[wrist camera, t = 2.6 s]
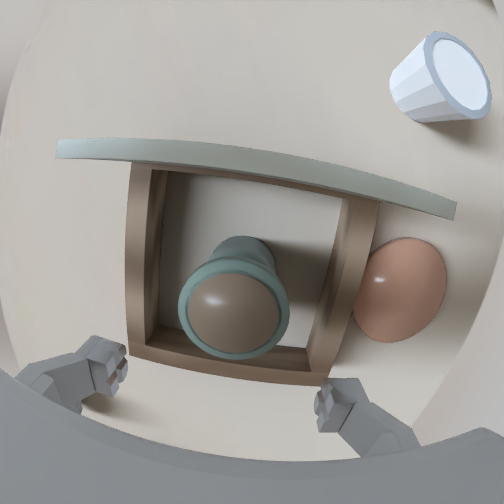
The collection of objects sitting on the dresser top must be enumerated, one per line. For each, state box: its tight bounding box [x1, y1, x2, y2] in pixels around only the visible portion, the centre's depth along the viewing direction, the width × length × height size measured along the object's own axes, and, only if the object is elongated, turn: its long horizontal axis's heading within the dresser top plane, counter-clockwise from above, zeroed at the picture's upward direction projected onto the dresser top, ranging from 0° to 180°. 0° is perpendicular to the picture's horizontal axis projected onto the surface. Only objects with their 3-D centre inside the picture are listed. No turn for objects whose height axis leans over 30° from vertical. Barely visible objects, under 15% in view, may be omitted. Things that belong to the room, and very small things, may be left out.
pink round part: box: [352, 237, 447, 343], centre depth 22 cm, size 10×10×1 cm
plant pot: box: [178, 236, 290, 360], centre depth 18 cm, size 6×6×8 cm
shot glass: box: [390, 31, 492, 123], centre depth 14 cm, size 7×7×7 cm
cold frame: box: [55, 138, 457, 387], centre depth 16 cm, size 17×17×12 cm
